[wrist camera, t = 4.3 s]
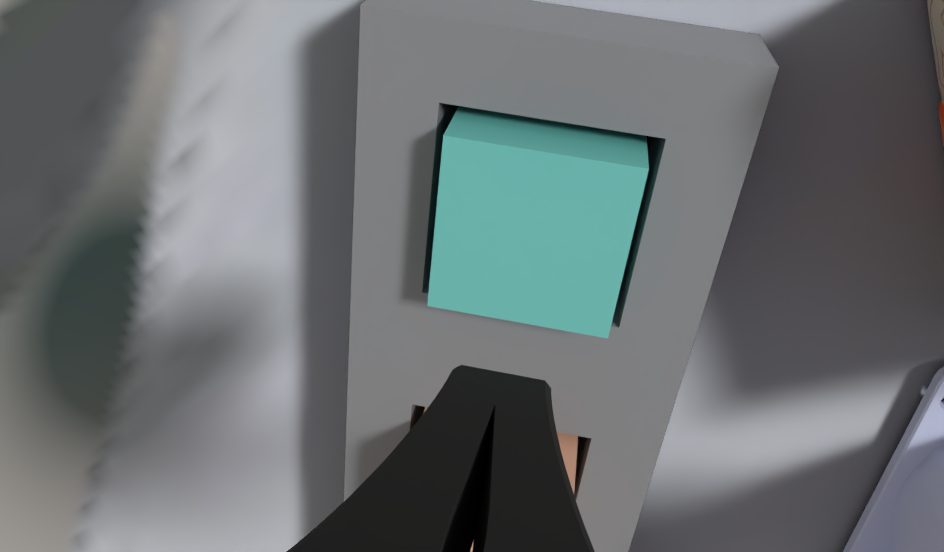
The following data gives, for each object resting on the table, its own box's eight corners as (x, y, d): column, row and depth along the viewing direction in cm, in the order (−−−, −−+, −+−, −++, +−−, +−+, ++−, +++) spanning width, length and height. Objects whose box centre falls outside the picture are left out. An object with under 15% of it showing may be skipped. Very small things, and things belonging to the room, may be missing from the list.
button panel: (567, 689, 29) (563, 758, 27) (356, 644, 30) (336, 707, 28) (759, 34, 17) (779, 67, 15) (391, -20, 18) (360, 4, 16)
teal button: (609, 260, 20) (607, 338, 17) (455, 233, 21) (427, 305, 18) (644, 109, 18) (649, 168, 15) (472, 82, 19) (443, 135, 16)
